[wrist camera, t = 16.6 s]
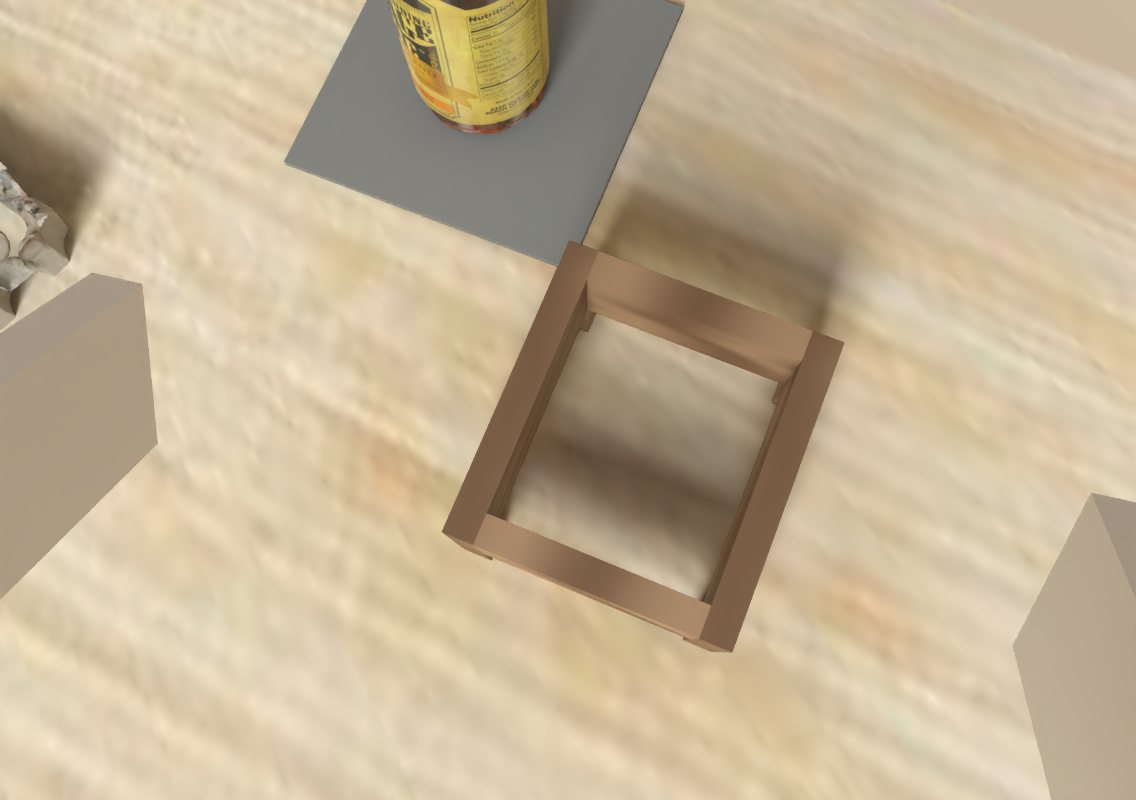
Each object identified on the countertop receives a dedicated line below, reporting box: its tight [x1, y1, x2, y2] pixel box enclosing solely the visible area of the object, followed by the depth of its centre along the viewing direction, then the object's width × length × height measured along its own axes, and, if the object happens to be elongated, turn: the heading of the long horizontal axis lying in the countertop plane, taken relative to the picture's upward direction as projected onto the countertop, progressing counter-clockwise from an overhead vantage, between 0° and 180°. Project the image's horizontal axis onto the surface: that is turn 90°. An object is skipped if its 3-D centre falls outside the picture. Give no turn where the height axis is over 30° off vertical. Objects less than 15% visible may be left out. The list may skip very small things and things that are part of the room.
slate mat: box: [284, 0, 683, 267], centre depth 47 cm, size 14×14×1 cm
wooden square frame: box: [442, 240, 844, 652], centre depth 39 cm, size 11×12×6 cm
